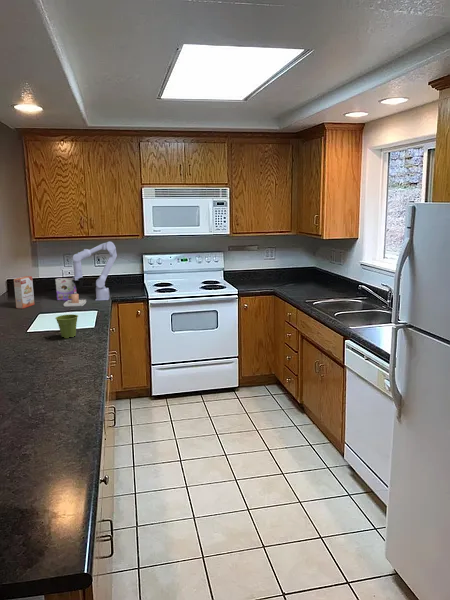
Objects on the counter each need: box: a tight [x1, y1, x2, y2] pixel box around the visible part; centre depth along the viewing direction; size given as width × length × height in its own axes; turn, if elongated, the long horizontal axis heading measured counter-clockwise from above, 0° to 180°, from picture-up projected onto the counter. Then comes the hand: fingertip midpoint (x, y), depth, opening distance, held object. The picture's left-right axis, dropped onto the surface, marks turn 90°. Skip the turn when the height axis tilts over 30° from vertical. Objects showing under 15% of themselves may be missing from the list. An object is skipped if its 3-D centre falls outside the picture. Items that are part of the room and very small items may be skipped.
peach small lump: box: [71, 293, 80, 303], centre depth 351 cm, size 5×5×7 cm
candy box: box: [54, 277, 78, 302], centre depth 367 cm, size 14×6×16 cm, turn 84°
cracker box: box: [13, 275, 35, 310], centre depth 346 cm, size 14×6×21 cm, turn 168°
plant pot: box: [54, 314, 79, 339], centre depth 266 cm, size 12×12×11 cm
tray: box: [63, 299, 87, 307], centre depth 352 cm, size 13×13×2 cm
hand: (79, 288), depth 362 cm, fingers open, 7 cm apart
